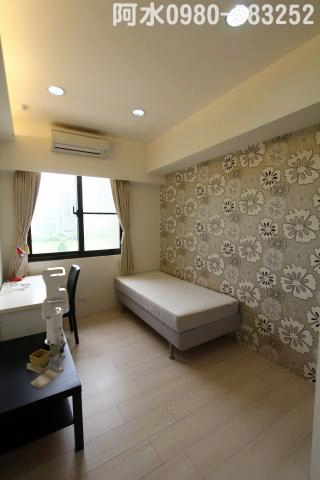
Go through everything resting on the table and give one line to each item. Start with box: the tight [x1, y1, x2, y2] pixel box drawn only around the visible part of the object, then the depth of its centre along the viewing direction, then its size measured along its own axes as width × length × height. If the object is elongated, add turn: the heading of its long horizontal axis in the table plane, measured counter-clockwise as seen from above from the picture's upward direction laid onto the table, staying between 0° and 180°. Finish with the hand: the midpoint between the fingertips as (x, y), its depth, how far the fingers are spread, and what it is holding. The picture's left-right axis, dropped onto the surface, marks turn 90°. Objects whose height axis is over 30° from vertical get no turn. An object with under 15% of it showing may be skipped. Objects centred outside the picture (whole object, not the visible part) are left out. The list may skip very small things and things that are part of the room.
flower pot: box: [29, 348, 50, 368], centre depth 147 cm, size 9×9×9 cm
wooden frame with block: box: [26, 345, 67, 375], centre depth 152 cm, size 20×14×8 cm
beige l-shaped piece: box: [30, 355, 64, 389], centre depth 137 cm, size 17×8×10 cm, turn 160°
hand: (56, 351), depth 160 cm, fingers open, 9 cm apart
